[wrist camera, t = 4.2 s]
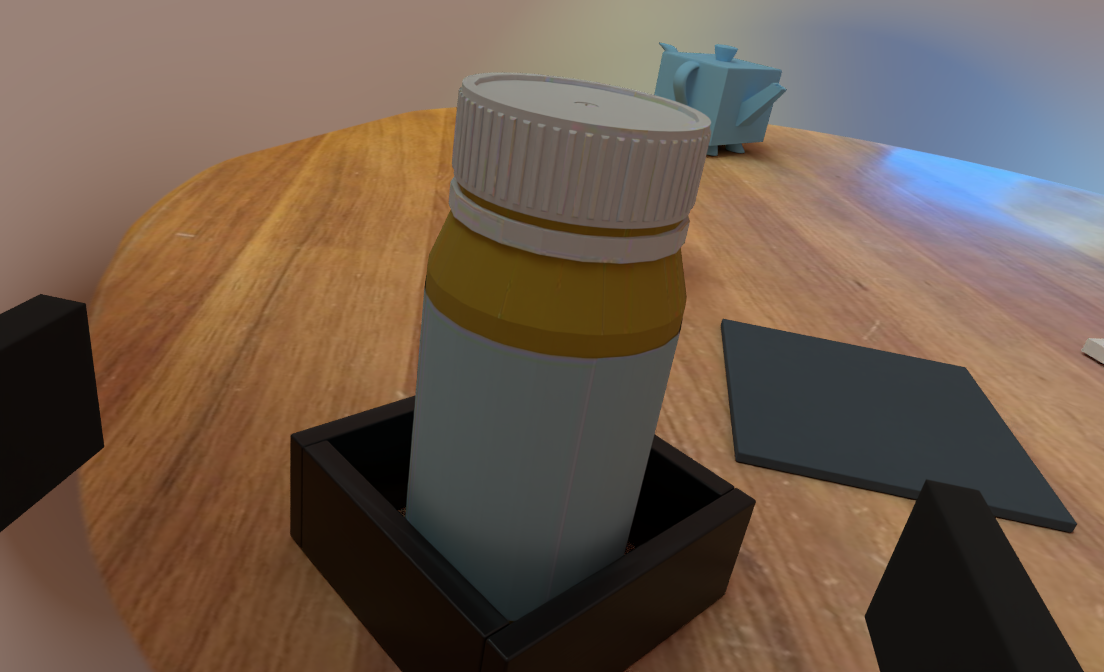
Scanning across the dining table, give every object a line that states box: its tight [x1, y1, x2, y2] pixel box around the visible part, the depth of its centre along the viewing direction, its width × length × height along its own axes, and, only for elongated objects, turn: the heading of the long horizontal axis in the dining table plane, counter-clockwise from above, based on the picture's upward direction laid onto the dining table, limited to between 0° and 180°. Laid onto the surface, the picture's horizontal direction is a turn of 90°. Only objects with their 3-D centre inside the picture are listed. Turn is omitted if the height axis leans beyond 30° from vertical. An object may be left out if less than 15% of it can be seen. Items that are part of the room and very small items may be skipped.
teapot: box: [654, 43, 787, 156], centre depth 90 cm, size 16×18×11 cm
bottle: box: [405, 73, 711, 625], centre depth 22 cm, size 7×7×15 cm
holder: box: [290, 395, 756, 672], centre depth 24 cm, size 10×10×4 cm
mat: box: [721, 319, 1077, 532], centre depth 39 cm, size 14×14×1 cm
